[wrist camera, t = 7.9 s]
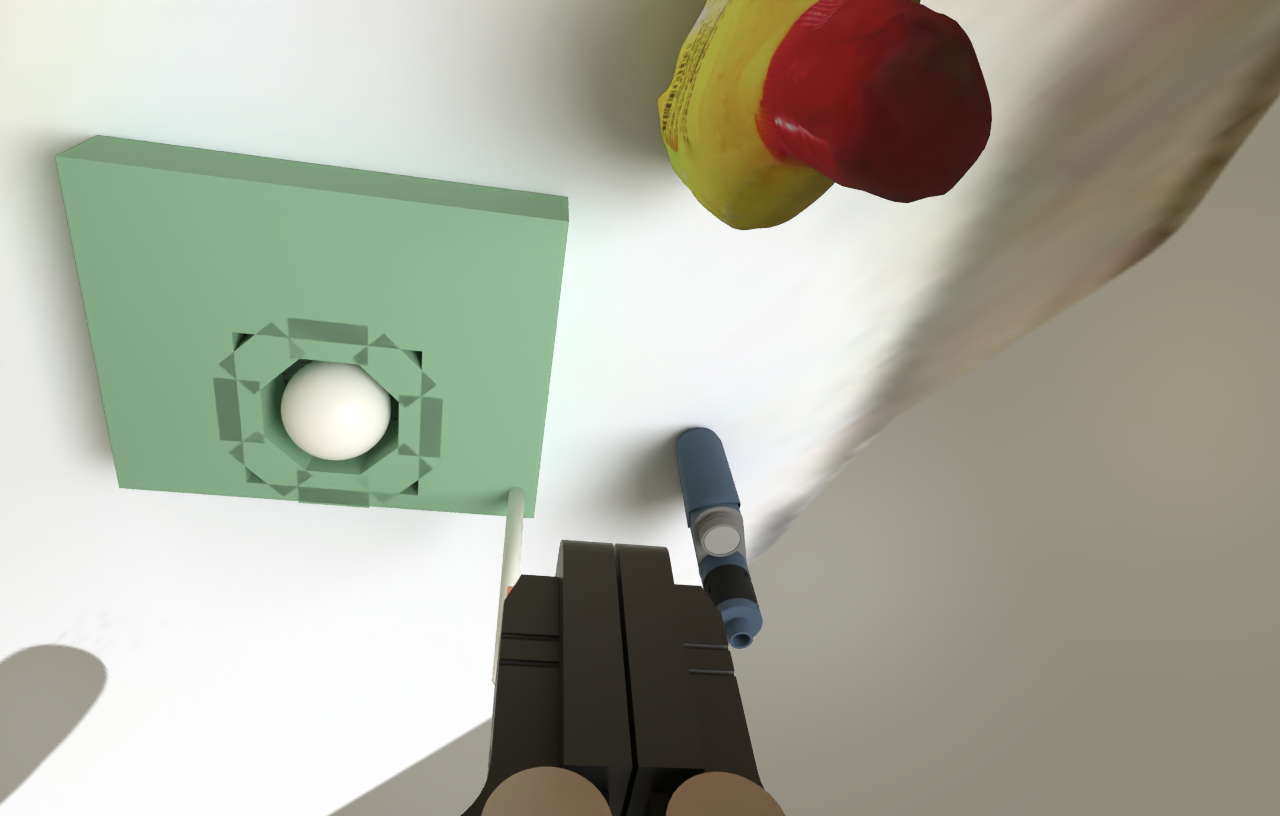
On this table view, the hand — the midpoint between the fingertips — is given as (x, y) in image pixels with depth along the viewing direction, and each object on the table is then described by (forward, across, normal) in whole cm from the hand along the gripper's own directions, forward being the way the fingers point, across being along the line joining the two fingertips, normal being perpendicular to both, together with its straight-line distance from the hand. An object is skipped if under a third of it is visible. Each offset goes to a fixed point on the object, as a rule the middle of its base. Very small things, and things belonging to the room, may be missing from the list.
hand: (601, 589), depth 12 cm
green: (+29, +10, +11) cm, 32 cm away
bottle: (+29, -7, -5) cm, 30 cm away
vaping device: (+29, -9, +17) cm, 35 cm away
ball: (+26, +10, +14) cm, 32 cm away
